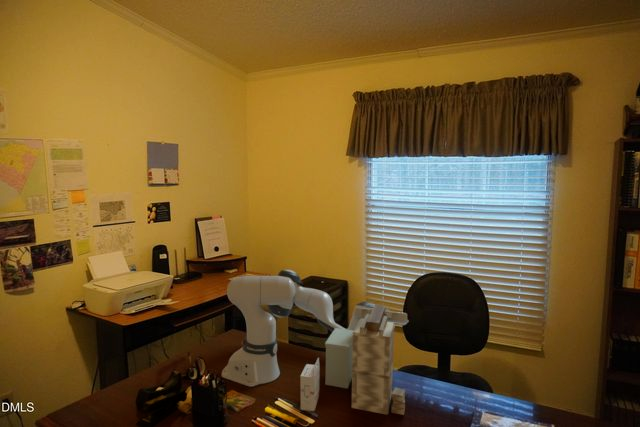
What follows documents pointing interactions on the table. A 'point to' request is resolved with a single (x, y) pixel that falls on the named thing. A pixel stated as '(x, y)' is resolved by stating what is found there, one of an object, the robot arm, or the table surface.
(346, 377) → the pale grey upright box
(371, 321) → the walnut strip
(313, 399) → the ink cartridge box
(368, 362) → the birch rack
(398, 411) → the offcut stack
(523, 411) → the table surface
